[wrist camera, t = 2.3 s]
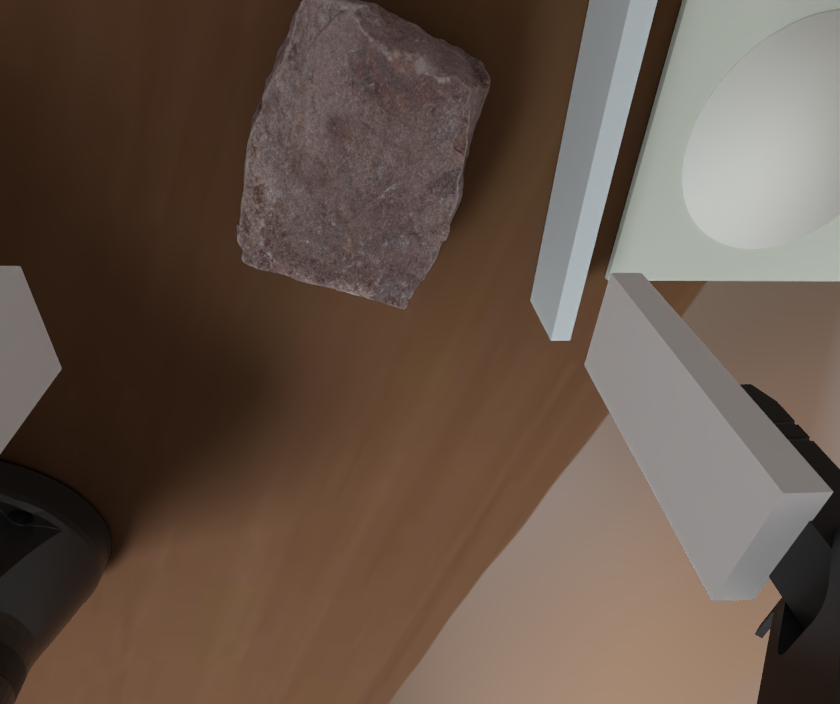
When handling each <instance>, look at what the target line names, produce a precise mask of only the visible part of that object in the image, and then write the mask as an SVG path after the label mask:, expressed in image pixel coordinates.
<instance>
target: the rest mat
mask: <svg viewBox="0 0 840 704" xmlns="http://www.w3.org/2000/svg"><path fill="white" fill-rule="evenodd" d="M611 273H642V274H643V275H644V276H645V277H646V278H647V280H648V281H840V0H682V3H681V7H680V10H679V14H678V17H677V21H676V25H675V28H674V32H673V35H672V39H671V42H670V46H669V50H668V53H667V57H666V60H665V64H664V68H663V71H662V75H661V78H660V82H659V85H658V89H657V93H656V96H655V100H654V103H653V107H652V111H651V114H650V118H649V121H648V125H647V129H646V132H645V136H644V139H643V143H642V146H641V150H640V154H639V157H638V161H637V164H636V168H635V172H634V175H633V179H632V182H631V186H630V189H629V193H628V197H627V200H626V204H625V207H624V211H623V215H622V218H621V222H620V225H619V229H618V232H617V236H616V240H615V243H614V247H613V250H612V254H611V258H610V261H609V265H608V268H607V272H606V276H605V278H606V279H607V280H608V281H609V278H610V274H611Z"/></svg>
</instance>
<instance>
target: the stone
mask: <svg viewBox="0 0 840 704" xmlns="http://www.w3.org/2000/svg"><path fill="white" fill-rule="evenodd" d="M490 82H491V78H490V76H489V74H488V72H487V71H486V69H485V66H484V64H483V62H482V61H480V60H478V59H476V58H474V57H472V56H470V55H469V54H468V53H466V52H465V51H464V50H462V49H461V48H459V47H458V46H452V45H451V44H449V43H448V42H446V41H444V40H443V39H437V38H434V37H432V36H430V35H429V34H428V33H426V32H425V31H424V30H423V29H421V28H420V27H419V26H418V25H417V24H414V23H411V22H409V21H406V20H404V19H402V18H401V17H399V16H397V15H395V14H393V13H391V12H388V11H386V10H385V9H384V8H382V7H381V6H380V5H378V4H375V3H371V2H365V1H362V0H302V2H301V3H300V5H299V7H298V8H297V10H296V12H295V13H294V15H293V17H292V20H291V24H290V28H289V32H288V34H287V36H286V38H285V39H284V41H283V43H282V44H281V47H280V48H279V49H278V51H277V55H276V60H275V64H274V67H273V69H272V72H271V73H270V75H269V76H268V77H267V78H266V80H265V83H266V85H265V88H264V92H263V94H262V98H261V99H260V101H259V104H258V106H257V109H256V111H255V112H254V114H253V117H252V122H251V131H250V136H249V139H248V143H247V149H246V158H245V165H244V174H243V179H244V190H243V196H242V201H241V216H240V222H239V223H238V224H237V225H236V228H237V241H238V243H239V245H240V247H241V248H242V250H243V252H242V257H241V259H242V262H244V263H245V264H247V265H249V266H252V267H254V268H257V269H259V270H264V271H270V272H274V273H278V274H282V275H286V276H289V277H291V278H293V279H295V280H297V281H300V282H304V283H307V284H313V285H318V286H323V287H328V288H333V289H336V290H337V291H342V292H347V293H350V294H352V295H356V296H360V297H365V298H368V299H370V300H375V301H380V302H382V303H385V304H388V305H391V306H394V307H396V308H400V309H405V308H406V307H407V306H408V302H409V299H410V298H411V297H412V296H413V295H414V293H415V291H416V289H417V288H418V286H419V285H420V283H421V282H422V281H423V280H424V279H425V277H426V275H427V273H428V271H429V269H430V268H431V266H432V265H433V263H434V262H435V260H436V258H437V256H438V253H439V249H440V246H441V244H442V242H443V241H445V240H446V239H447V237H448V235H449V233H450V225H451V222H452V220H453V217H454V215H455V213H456V211H457V208H458V206H459V204H460V201H461V198H462V194H463V187H464V178H465V177H464V169H465V164H466V159H467V157H468V156H469V147H470V144H471V142H472V138H473V132H474V129H475V126H476V124H477V122H478V119H479V117H480V114H481V111H482V108H483V105H484V102H485V99H486V97H487V94H488V92H489V88H490Z"/></svg>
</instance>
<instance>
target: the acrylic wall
mask: <svg viewBox="0 0 840 704" xmlns="http://www.w3.org/2000/svg"><path fill="white" fill-rule="evenodd" d="M657 1H658V0H589V5H588V10H587V15H586V20H585V25H584V30H583V35H582V40H581V45H580V50H579V56H578V61H577V66H576V71H575V76H574V81H573V86H572V91H571V96H570V101H569V106H568V111H567V116H566V122H565V127H564V132H563V137H562V142H561V147H560V152H559V157H558V162H557V167H556V172H555V177H554V183H553V188H552V193H551V198H550V203H549V208H548V213H547V218H546V223H545V228H544V233H543V238H542V243H541V249H540V254H539V259H538V264H537V269H536V274H535V279H534V284H533V289H532V294H531V299H530V301H531V303H532V305H533V307H534V309H535V311H536V313H537V315H538V317H539V319H540V321H541V323H542V324H543V326H544V328H545V330H546V332H547V334H548V336H549V338H550V340H551V341H570V339H571V335H572V331H573V327H574V324H575V320H576V316H577V312H578V308H579V304H580V300H581V296H582V292H583V289H584V285H585V281H586V277H587V273H588V269H589V265H590V261H591V257H592V254H593V250H594V246H595V242H596V238H597V234H598V230H599V226H600V222H601V219H602V215H603V211H604V207H605V203H606V199H607V195H608V191H609V187H610V184H611V180H612V176H613V172H614V168H615V164H616V160H617V156H618V152H619V149H620V145H621V141H622V137H623V133H624V129H625V125H626V121H627V117H628V114H629V110H630V106H631V102H632V98H633V94H634V90H635V86H636V82H637V79H638V75H639V71H640V67H641V63H642V59H643V55H644V51H645V47H646V44H647V40H648V36H649V32H650V28H651V24H652V20H653V16H654V12H655V9H656V5H657Z"/></svg>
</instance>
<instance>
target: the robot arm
mask: <svg viewBox="0 0 840 704" xmlns="http://www.w3.org/2000/svg"><path fill="white" fill-rule="evenodd" d="M584 366H585V367H586V369H587V371H588V373H589V375H590V377H591V379H592V380H593V382H594V384H595V386H596V388H597V390H598V391H599V393H600V395H601V397H602V399H603V401H604V403H605V404H606V406H607V408H608V410H609V412H610V414H611V416H612V417H613V419H614V421H615V423H616V425H617V427H618V428H619V430H620V432H621V434H622V436H623V438H624V440H625V441H626V443H627V445H628V447H629V449H630V451H631V453H632V454H633V456H634V458H635V460H636V461H637V464H638V465H639V467H640V469H641V471H642V473H643V475H644V477H645V478H646V480H647V482H648V484H649V486H650V488H651V489H652V491H653V493H654V495H655V497H656V499H657V501H658V502H659V504H660V506H661V508H662V510H663V512H664V514H665V515H666V517H667V519H668V521H669V523H670V525H671V526H672V528H673V530H674V532H675V534H676V536H677V537H678V539H679V541H680V543H681V545H682V547H683V549H684V551H685V552H686V554H687V556H688V558H689V560H690V562H691V564H692V565H693V567H694V569H695V571H696V573H697V575H698V576H699V578H700V580H701V582H702V584H703V586H704V587H705V589H706V591H707V593H708V595H709V597H710V599H711V601H730V600H748V599H755V597H756V596H757V595H758V593H759V592H760V591H761V589H762V588H763V587H764V585H765V584H766V582H767V581H768V580H769V578H770V579H771V580H772V582H773V583H774V585H775V587H776V588H777V590H778V591H779V593H780V594H781V596H782V598H781V599H780V601H779V602H778V603H777V604H776V606H775V607H774V608H773V610H772V611H771V612H770V613H769V615H768V616H767V617H766V618H765V620H764V621H763V622H762V623H761V625H760V626H759V628H758V630H757V632H756V633H755V634H756V635H757V636H759V637H761V638H763V636H764V635H765V634H766V632H767V631H768V630H769V629H771V630H770V635H769V641H768V646H767V652H766V657H765V662H764V668H763V673H762V679H761V685H760V691H759V695H758V701H757V704H840V469H839V468H838V467H837V466H836V465H835V464H834V463H833V462H832V461H831V460H830V459H829V458H828V457H827V455H826V454H825V453H824V452H823V451H822V450H821V449H820V448H819V447H818V446H817V444H815V442H814V441H810V440H809V436H808V435H807V434H806V433H805V432H804V431H803V429H802V428H801V427H800V426H799V425H795V424H794V420H793V419H792V418H791V416H790V415H789V414H788V413H787V412H786V411H785V410H784V409H783V408H782V407H781V406H780V405H779V404H778V402H777V401H775V400H774V399H772V398H771V397H769V396H768V395H766V394H765V393H763V392H762V391H760V390H759V389H757V388H756V387H754V386H753V385H751V384H748V385H747V384H745V385H739V383H738V382H737V381H736V380H735V379H734V378H733V377H732V375H731V374H730V373H729V372H728V371H727V370H726V369H725V367H724V366H723V365H722V364H721V363H720V362H719V361H718V360H717V358H716V357H715V356H714V355H713V354H712V353H711V351H710V350H709V349H708V348H707V347H706V346H705V345H704V344H703V342H702V341H701V340H700V339H699V338H698V337H697V336H696V334H695V333H694V332H693V331H692V330H691V329H690V328H689V327H688V325H687V324H686V323H685V322H684V321H683V320H682V318H681V317H680V316H679V315H678V314H677V313H676V312H675V310H674V309H673V308H672V307H671V306H670V305H669V304H668V302H667V301H666V300H665V299H664V298H663V297H662V296H661V294H660V293H659V292H658V291H657V290H656V289H655V288H654V286H653V285H652V284H651V283H650V282H649V281H648V280H647V278H646V277H645V276H644V275H643V274H642V273H611V274H610V278H609V281H608V284H607V288H606V291H605V295H604V298H603V302H602V305H601V309H600V312H599V316H598V319H597V323H596V326H595V330H594V333H593V337H592V340H591V344H590V347H589V351H588V354H587V357H586V361H585V364H584ZM61 369H62V368H61V365H60V363H59V360H58V358H57V355H56V353H55V350H54V348H53V345H52V343H51V340H50V338H49V335H48V333H47V330H46V328H45V325H44V323H43V321H42V318H41V316H40V313H39V311H38V308H37V306H36V303H35V301H34V298H33V296H32V293H31V291H30V288H29V286H28V283H27V281H26V278H25V276H24V274H23V271H22V269H21V266H0V454H1V452H2V451H3V450H4V448H5V447H6V446H7V444H8V443H9V441H10V440H11V439H12V437H13V436H14V434H15V433H16V432H17V430H18V429H19V428H20V426H21V425H22V423H23V422H24V421H25V419H26V418H27V416H28V415H29V414H30V412H31V411H32V410H33V408H34V407H35V405H36V404H37V403H38V401H39V400H40V398H41V397H42V396H43V394H44V393H45V392H46V390H47V389H48V387H49V386H50V385H51V383H52V382H53V380H54V379H55V378H56V376H57V375H58V374H59V372H60V371H61ZM110 554H111V537H110V533H109V530H108V528H107V526H106V524H105V522H104V521H103V519H102V518H101V516H100V515H99V514H98V512H97V511H96V510H95V509H94V508H93V507H92V506H91V505H90V504H89V503H88V502H87V501H86V500H84V499H83V498H82V497H81V496H79V495H78V494H77V493H75V492H74V491H72V490H71V489H69V488H68V487H66V486H64V485H62V484H61V483H59V482H57V481H55V480H53V479H51V478H49V477H47V476H45V475H42V474H40V473H37V472H35V471H32V470H29V469H27V468H24V467H20V466H17V465H14V464H10V463H6V462H2V461H0V704H14V703H15V701H16V698H17V696H18V694H19V692H20V690H21V688H22V685H23V683H24V681H25V679H26V677H27V675H28V673H29V670H30V669H31V667H32V666H33V664H34V663H35V662H36V660H37V659H38V658H39V657H40V655H41V654H42V653H43V652H44V651H45V650H46V648H47V647H48V646H49V645H50V644H51V642H52V641H53V640H54V639H55V638H56V637H57V635H58V634H59V633H60V632H61V631H62V629H63V628H64V627H65V626H66V625H67V623H68V622H69V621H70V620H71V618H72V617H73V616H74V615H75V613H76V612H77V611H78V609H79V608H80V607H81V606H82V604H83V603H85V602H86V601H87V600H88V598H89V597H90V596H91V595H92V593H93V592H94V590H95V589H96V587H97V585H98V583H99V581H100V579H101V577H102V574H103V572H104V569H105V567H106V564H107V562H108V559H109V557H110Z"/></svg>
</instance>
